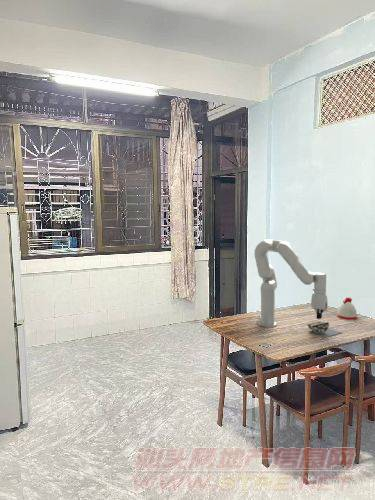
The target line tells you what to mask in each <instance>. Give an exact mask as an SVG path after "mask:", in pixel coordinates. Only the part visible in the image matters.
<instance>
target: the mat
mask: <svg viewBox="0 0 375 500" xmlns="http://www.w3.org/2000/svg"><path fill="white" fill-rule="evenodd" d="M310 333H312V334H315V335H318V336H321V337H324V338H326V339H327V338H329V337H332V336H336V335H339V334H342V333H343V332H342V331H338V330H335V329H331V328H329V327H328V329H327V331H326V332H324V333H321V334H318V333H315V332H314V331H313V330H312V331H310Z"/></svg>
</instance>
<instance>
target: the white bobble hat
mask: <svg viewBox="0 0 375 500" xmlns="http://www.w3.org/2000/svg"><path fill="white" fill-rule="evenodd" d="M352 301H353V298H352V297H345V299H344V300H343V302H342V303H341V304H339V305H340V306H338V308H337V312H336V317H337V318H339V319H343V320H356V319H357V318H358V314H357V310H356V308H355V306H354V304H353V303H352Z"/></svg>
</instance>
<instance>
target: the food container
mask: <svg viewBox="0 0 375 500" xmlns="http://www.w3.org/2000/svg"><path fill="white" fill-rule="evenodd" d="M307 327H308V328H309V330H312V331H314V332H315V333H318V334H321V333H324V332H326V331H327V329H328V328H329V327H330V323H329V321H327V322H325V321H317V322H316V321H315V322H313V323H312V322H311V323H307Z"/></svg>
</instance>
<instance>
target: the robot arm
mask: <svg viewBox="0 0 375 500" xmlns="http://www.w3.org/2000/svg"><path fill="white" fill-rule="evenodd" d="M269 252H272V253H273V252H274V253H278V254H279V256H280V257H281V258H282V259H283V260H284V261H285V262H286V264H287V265H288V266H289V267H290V269H291V270H292V272H293V273H294V274H295V276H296V277H297V278H298V279H299V281H300V282H301V283H303V284H304V286H305V285H306V286H310V285H311V284H314V285H313V288H312V291H313V292H312V295H311V301H310V306H311V308H312V309H313V310H314V311H315V313H316V319H317V320H321V319H322V318H323V312H327V311H328V295H327V274H326V273H324V272H312V271H308V269H306V267H304V265H303V263H302V260H301V258H300V257H299V256H298V254H297V253H296V252H295V251H294V250H293V249H292V247H291V244H290V243H289V242H288V241H283V240H278V239H277V240H275V239H269V238H268V239H264V240H262V241H260V242H259V243H258V244H257V245H256V246H255V249H254V259H255V264H256V268H257V274H258V276H259V278H261V279H262V283H261V286H260V315H258V317H257V320H259V321H258V325H259V326H261V327H263V328H264V327H265V328H266V327H267V328H274V327H276V326H277V322H276V321H275V317H276V316H275V315H276V314H275V313H276V311H275V310H276V308H275V307H276V304H275V303H276V302H275V301H276V297H275V291H276V290H277V288H278V282H277V278H276V273H275V269H274V267H273V266H272V265H271V264H270V263H269V262H270V261H269V259H268V253H269Z"/></svg>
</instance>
